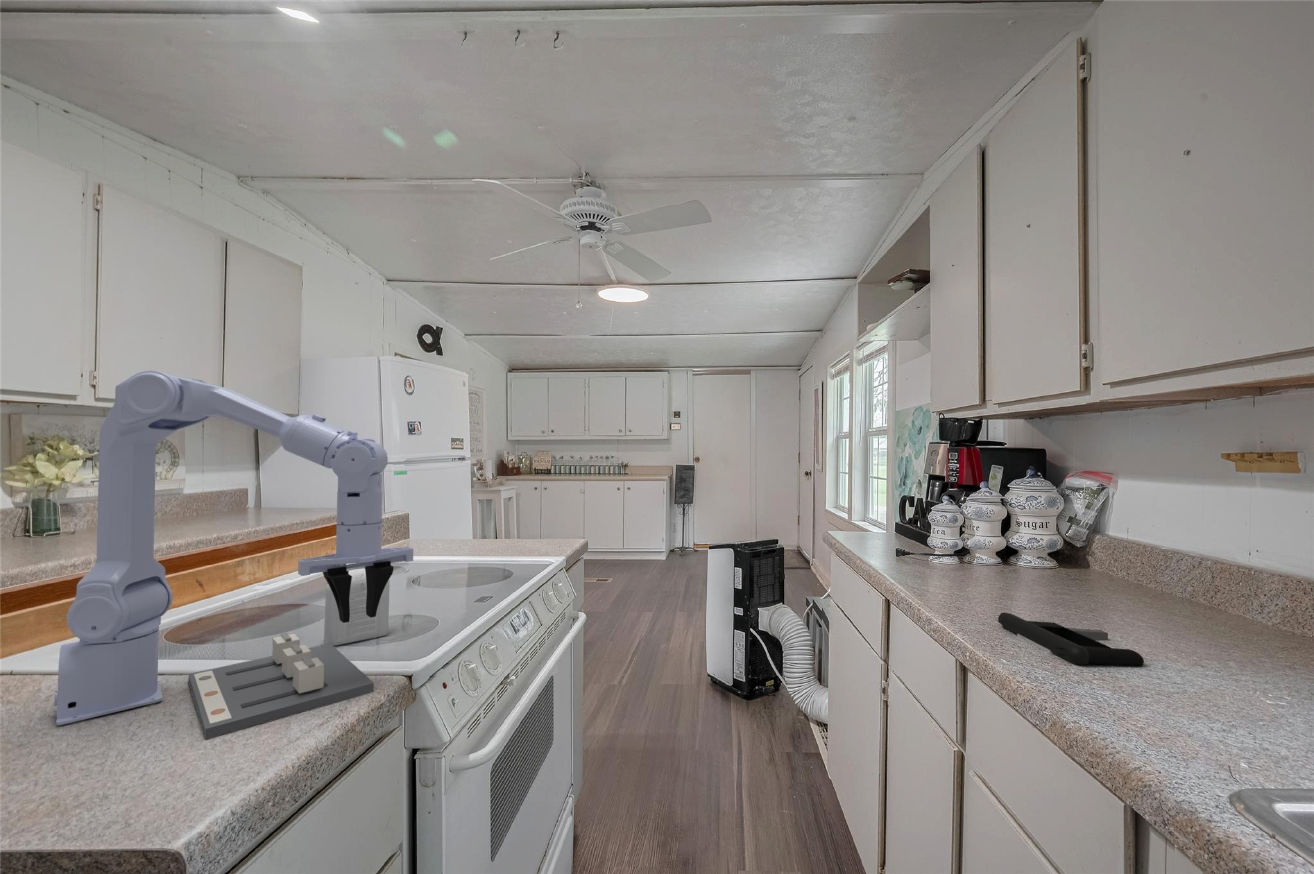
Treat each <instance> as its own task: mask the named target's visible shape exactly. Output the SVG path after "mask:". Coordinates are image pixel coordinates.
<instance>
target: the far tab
mask: <svg viewBox="0 0 1314 874" xmlns="http://www.w3.org/2000/svg"><path fill="white" fill-rule="evenodd" d="M300 640H301V639H300V638H299V637H298V636H297V635H296V634H295V633H292V634H288V633H287V632H284V633H280V636H276V637H275V636H274V637H273V638H272V650H271V651H272V652H271V653H272V655H271V656H272V658H273V659H274V661H275V662H276V663H277V664H280V663H282V650H283V649H288V648H291V645H294V644H297V645H298V646H300V645H301V644H300V642H301V641H300Z"/></svg>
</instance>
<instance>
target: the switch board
mask: <svg viewBox="0 0 1314 874" xmlns="http://www.w3.org/2000/svg"><path fill="white" fill-rule="evenodd" d="M307 648H308V649H309V650H310V651H311V659H312V658H318V659H319V660H320V661H321V662H322V663H323V664H324V685H323V687H322V688H319V689H315V690H311V691H307V692H303V693H300V694H299V693H298V692H297V690H296V689H295V688H294V686H293V677H289V678H287V677H286V675H285V674H284V673H283V671H282V663H280V664H277V663H276V662H275V661H274V659H273V658H272V655H271V656H265V657H261V658H256V659H252V660H247V661H243V662H238V663H234V664H229V665H224V666H219V667H214V668H211V669H204V670H201V671H200V670H199V671H197V672H191V673H188V685H189V684H190V686H189V688H190V687H191V689H190V692H191V691H192V693H191V695H192V694H193V696H192V699H193V698H194V699H193V701H194V702H195V703H194V702H193V703H194V705H195V709H196V712H197V716H198V719H199V720H198V721H199V723H200V726H201V730H202V734H203V737H204V740H208V739H212V738H216V737H219V736H223V735H225V734H229V733H234V732H236V731H240V730H243V729H246V728H251V727H254V726H257V725H261V724H265V723H269V722H273V721H276V720H279V719H281V718H286V717H289V716H293V715H296V714H299V713H303V712H306V711H311V710H314V709H318V708H321V707H324V706H328V705H330V704H331V705H333V704H335V703H339V702H342V701H345V700H350V699H352V698H353V699H354V698H356V697H359V696H364V695H366V694H370V693H373V692H374V689H375V686H374V685H375V684H374V683H375V682H373V680H371V679H370V678H369V677H368V676H367V674H365V673H364V672H362V671H361V670H360V669H359V668H358V667H357V666H356V665H355V664H354V663H353V662H351V661H350V660H349V659H348V658H347V657H346V655H344V654H343V653H341V652H340V651H339V650H338V649H337V647H335V646H333V645H332V644H325V645H324V644H321V645H316V646H312V647H307Z"/></svg>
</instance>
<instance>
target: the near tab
mask: <svg viewBox="0 0 1314 874" xmlns="http://www.w3.org/2000/svg"><path fill="white" fill-rule="evenodd" d="M323 685H324V664H323V663H322V662H321V661H320V660H319V659H318V658H312V659H310V658H309V657H304V658H302V661H299V662H295V663H293V686H294V688H295V689H296V690H297V692H298V693H299V694H300V693H303V692H307V691H311V690H315V689H319V688H322V687H323Z"/></svg>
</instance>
